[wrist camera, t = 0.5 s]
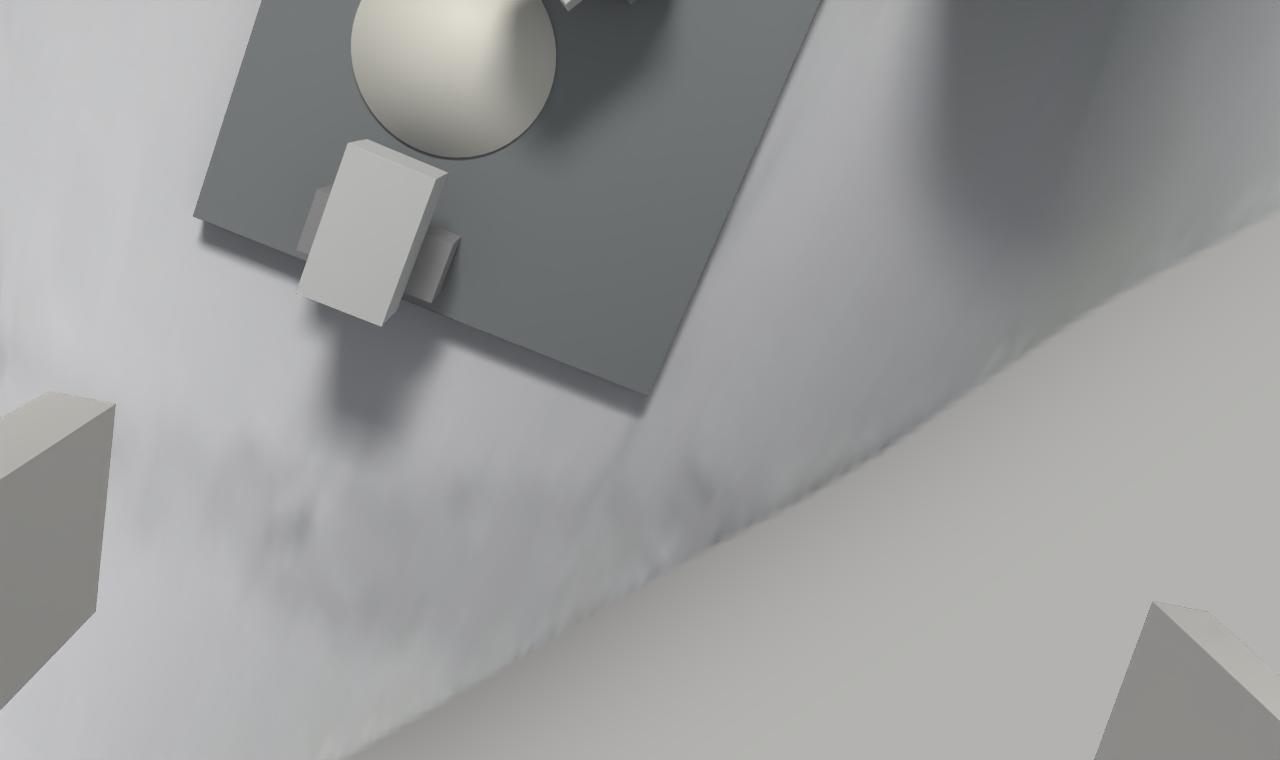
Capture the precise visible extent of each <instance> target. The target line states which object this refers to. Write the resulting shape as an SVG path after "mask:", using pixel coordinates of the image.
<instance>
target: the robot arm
mask: <svg viewBox="0 0 1280 760" xmlns="http://www.w3.org/2000/svg"><path fill="white" fill-rule="evenodd" d="M115 406H116V404H114V403H109V402H103V401H98V400H93V399H88V398H82V397H77V396H72V395H67V394H61V393H56V392H51V391H49V392H47V393H45V394H44V395H42V396H40V397H38V398H36V399H35V400H33V401H31V402H29V403H27V404H26V405H24V406H22V407H20V408H18V409H16V410H15V411H13V412H11V413H9V414H7V415H6V416H4V417H2V418H0V710H1V709H2V708H3V707H4V706H5V705H6V704H7V703H8V702H9V701H10V700H11V699H12V698H13V697H14V696H15V695H16V694H17V693H18V692H19V690H20V689H21V688H22V687H23V686H24V685H25V684H26V683H27V682H28V681H29V680H30V679H31V678H32V677H33V676H34V675H35V674H36V673H37V672H38V671H39V670H40V669H41V668H42V667H43V666H44V664H45V663H46V662H47V661H48V660H49V659H50V658H51V657H52V656H53V655H54V654H55V653H56V652H57V651H58V650H59V649H60V648H61V647H62V646H63V645H64V644H65V643H66V642H67V641H68V640H69V639H70V637H71V636H72V635H73V634H74V633H75V632H76V631H77V630H78V629H79V628H80V627H81V626H82V625H83V624H84V623H85V622H86V621H87V620H88V619H89V618H90V617H91V616H92V615H93V614H94V613H95V612H96V602H97V591H98V581H99V571H100V560H101V550H102V540H103V530H104V519H105V509H106V499H107V488H108V478H109V468H110V457H111V447H112V437H113V426H114V416H115ZM1094 760H1280V674H1279V673H1277V672H1276V671H1275V670H1274V669H1273V668H1272V667H1271V666H1270V665H1268V664H1267V663H1266V662H1265V661H1264V660H1263V659H1262V658H1260V657H1259V656H1258V655H1257V654H1256V653H1255V652H1253V651H1252V650H1251V649H1250V648H1249V647H1248V646H1247V645H1245V644H1244V643H1243V642H1242V641H1241V640H1240V639H1239V638H1237V637H1236V636H1235V635H1234V634H1233V633H1232V632H1230V631H1229V630H1228V629H1227V628H1226V627H1225V626H1223V625H1222V624H1221V623H1220V622H1219V621H1218V620H1217V619H1216V618H1214V617H1213V616H1212V615H1211V614H1210V613H1209V612H1206V611H1200V610H1195V609H1190V608H1185V607H1180V606H1174V605H1169V604H1164V603H1158V602H1152V604H1151V607H1150V610H1149V613H1148V615H1147V618H1146V621H1145V623H1144V626H1143V629H1142V632H1141V634H1140V637H1139V640H1138V642H1137V645H1136V648H1135V651H1134V653H1133V656H1132V659H1131V661H1130V664H1129V667H1128V670H1127V672H1126V675H1125V678H1124V681H1123V683H1122V686H1121V689H1120V691H1119V694H1118V697H1117V699H1116V702H1115V705H1114V707H1113V710H1112V713H1111V716H1110V718H1109V721H1108V724H1107V727H1106V729H1105V732H1104V735H1103V737H1102V740H1101V743H1100V746H1099V748H1098V751H1097V753H1096V756H1095V759H1094Z"/></svg>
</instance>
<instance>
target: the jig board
mask: <svg viewBox="0 0 1280 760" xmlns="http://www.w3.org/2000/svg"><path fill="white" fill-rule="evenodd" d="M819 3H820V0H262V1H261V5H260V8H259V11H258V14H257V17H256V20H255V23H254V27H253V30H252V33H251V36H250V39H249V42H248V45H247V48H246V52H245V55H244V58H243V61H242V64H241V67H240V70H239V74H238V77H237V80H236V83H235V86H234V89H233V92H232V95H231V99H230V102H229V105H228V108H227V111H226V114H225V117H224V121H223V124H222V127H221V130H220V133H219V136H218V139H217V142H216V146H215V149H214V152H213V155H212V158H211V161H210V164H209V167H208V171H207V174H206V177H205V180H204V183H203V186H202V189H201V193H200V196H199V199H198V202H197V205H196V208H195V211H194V214H193V217H196V218H198V219H201V220H203V221H206V222H209V223H211V224H214V225H216V226H219V227H221V228H224V229H226V230H229V231H231V232H234V233H236V234H239V235H241V236H244V237H246V238H249V239H251V240H254V241H257V242H259V243H262V244H264V245H267V246H269V247H272V248H274V249H277V250H279V251H282V252H284V253H287V254H289V255H292V256H294V257H297V258H300V259H302V260H305V261H307V262H306V265H305V268H304V270H303V273H302V276H301V279H300V282H299V285H298V288H297V291H296V294H299V295H301V296H304V297H306V298H309V299H311V300H314V301H316V302H319V303H322V304H324V305H327V306H329V307H332V308H334V309H337V310H340V311H342V312H345V313H347V314H350V315H352V316H355V317H357V318H360V319H363V320H365V321H368V322H370V323H373V324H375V325H378V326H380V327H382V326H383V325H384V324H385V323H386V322H387V320H388V319H389V318H390V317H391V316H392V315H393V314H394V313H395V312H396V311H397V310H398V307H399V304H400V302H401V299H403V300H406V301H408V302H411V303H413V304H416V305H418V306H421V307H423V308H426V309H428V310H431V311H434V312H436V313H439V314H441V315H444V316H446V317H449V318H451V319H454V320H456V321H459V322H461V323H464V324H466V325H469V326H471V327H474V328H477V329H479V330H482V331H484V332H487V333H489V334H492V335H494V336H497V337H499V338H502V339H504V340H507V341H509V342H512V343H514V344H517V345H520V346H522V347H525V348H527V349H530V350H532V351H535V352H537V353H540V354H542V355H545V356H547V357H550V358H552V359H555V360H557V361H560V362H563V363H565V364H568V365H570V366H573V367H575V368H578V369H580V370H583V371H585V372H588V373H590V374H593V375H595V376H598V377H600V378H603V379H605V380H608V381H611V382H613V383H616V384H618V385H621V386H623V387H626V388H628V389H631V390H633V391H636V392H638V393H641V394H643V395H646V396H648V395H649V393H650V390H651V388H652V386H653V383H654V381H655V379H656V377H657V374H658V372H659V370H660V367H661V365H662V363H663V360H664V358H665V356H666V354H667V351H668V349H669V347H670V344H671V342H672V340H673V338H674V335H675V333H676V331H677V328H678V326H679V324H680V321H681V319H682V317H683V315H684V312H685V310H686V308H687V305H688V303H689V301H690V299H691V296H692V294H693V292H694V289H695V287H696V285H697V282H698V280H699V278H700V276H701V273H702V271H703V269H704V266H705V264H706V262H707V260H708V257H709V255H710V253H711V250H712V248H713V246H714V243H715V241H716V239H717V237H718V234H719V232H720V230H721V227H722V225H723V223H724V221H725V218H726V216H727V214H728V211H729V209H730V207H731V204H732V202H733V200H734V198H735V195H736V193H737V191H738V188H739V186H740V184H741V182H742V179H743V177H744V175H745V172H746V170H747V168H748V165H749V163H750V161H751V159H752V156H753V154H754V152H755V149H756V147H757V145H758V143H759V140H760V138H761V136H762V133H763V131H764V129H765V126H766V124H767V122H768V120H769V117H770V115H771V113H772V110H773V108H774V106H775V104H776V101H777V99H778V97H779V94H780V92H781V90H782V87H783V85H784V83H785V81H786V78H787V76H788V74H789V71H790V69H791V67H792V65H793V62H794V60H795V58H796V55H797V53H798V51H799V48H800V46H801V44H802V42H803V39H804V37H805V35H806V32H807V30H808V28H809V26H810V23H811V21H812V19H813V16H814V14H815V12H816V10H817V7H818V5H819Z"/></svg>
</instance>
